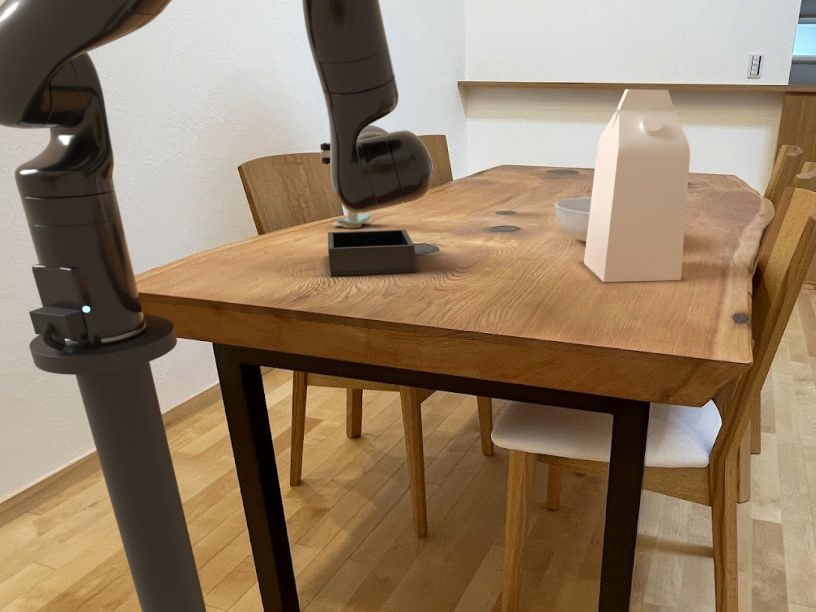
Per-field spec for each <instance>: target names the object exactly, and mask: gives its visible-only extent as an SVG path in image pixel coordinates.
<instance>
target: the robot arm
mask: <svg viewBox="0 0 816 612" xmlns="http://www.w3.org/2000/svg"><path fill="white" fill-rule="evenodd" d="M172 1H173V0H4V2H2V3H1V4H0V126H2V127H7V128H12V129H20V130H21V129H22V130H28V129H29V130H34V129H35V130H36V129H49V136H50V137H49V141H48V144H47V145H46V147H45V148H44V149H43V150H42V151H41V152H40V153H39V154H38V155H36V156H35V157H33V158H31V159H28V161H26V162H24V163H21V164H20V165H18V166H17V167H16V168H15V170H14V181H15V185H16V187H17V191H18V194H19V198H20V201H21V205H22V208H23V211H24V215H25V220H26V222H27V226H28V230H29V234H30V236H31V240H32V244H33V248H34V251H35V254H36V258H37V261H38V263H36V264H33V265H32V266H31V271H32V274H33V278H34V281H35V285H36V289H37V292H38V295H39V300H40V303H41V305H42V307H39V308H36V309H33V310H30V311H28V313H29V314H28V315H29V317H30V320H31V324H32V326H33V331H34V334H35V335H42V338H43V341H44V342H45V344H47V345H48V346H49V347H51V348H54V349H57V350H59V351H62V350H63V349H64V348H65V346H72V347H79V348H87V349H97V348H99V347H102V346H106V345H112V344H117V343H121V342H125V341H128V340H131V339H134V338H136V337H138V336H140V335H142V334H143V333H145V332H146V330H147V325H146V321H145V320H144V316H143V315H144V313H143V312H142V310H143V308H142V303H141V298H140V294H139V290H138V286H137V282H136V276H135V273H134V268H133V264H132V260H131V255H130V254H131V253H130V250H129V246H128V242H127V237H126V232H125V229H124V224H123V220H122V219H123V218H122V215H121V210H120V206H119V202H118V197H117V193H116V192H117V191H116V189H115V183H114V179H113V178H114V177H113V176H114V168H115V157H114V150H113V145H112V144H113V143H112V139H111V134H110V133H111V132H110V128H109V127H110V126H109V121H108V114H107V107H106V101H105V96H104V92H103V91H104V90H103V86H102V83H101V79H100V75H99V72H98V71H97V68H96V65H95V63H94V62H93V59H92V58H91V56H90V54H89V52H92V51H93V50H96V49H98V48H100V47H103V46H106V45H108V44H110V43H112V42H115V41H117V40H119V39H122V38H124V37H126V36H128V35H131V34H133V33H134V32H137V31H138V30H140V29H142V28H144V27H145V26H147V25H148V24H150V23H151V22H153V21H154V20H155V19H156V18H158V17H159V16H160V15H161V14H162V13H163V12H164V11H165V10H166V9H167V7H168V6H169V5H170V3H171V2H172ZM301 3H302V12H303V19H304V26H305V27H304V28H305V31H306V36H307V41H308V46H309V49H310V53H311V55H312V60H313V64H314V66H315V70H316V73H317V76H318V77H317V78H318V80H319V83H320V87H321V91H322V94H323V97H324V103H325V106H326V111H327V117H328V124H329V125H328V126H329V138H330V139H329V142H323V143H320V144H319V146H320V156H321V164H324V165H329V170H330V183H331V187H332V190H333V193H334V196H335V197H336V199H337V200H338V202H339V203H340V204H341V205H342V206H343V207H344V209H345V208H347V209H348V210H350V211H352V212H355V213H357V214H365V213H368V212H372V211H376V210H380V209H384V208H389V207H392V206H397V205H400V204H401V205H402V204H405V203H409V202H414V201H417V200H419V199H421V198H423V197H424V196H425V195H426V194H427V193H428V192H429V190H430V189H431V187H432V184H433V181H434V163H433V160H432V157H431V154H430V152H429V149H428V148H427V146H426V144H425V143H424V142H423V140H422V139H421V138H420V137H419V136H418V135H417V134H415V133H414V132H412V131H410V130H405V129H402V130H396V131H391V132H388V131H387V130H386V129H383V128H382V127H380V126H376V125H371V124H373V123H375V122H377V121H379V120H381V119H383V118H384V117H386V116H388V115H390V114H391V113H392V112H393V111H395V109H396V108H397V106H398V104H399V101H400V100H399V88H398V83H397V78H396V74H395V70H394V65H393V62H392V56H391V52H390V51H391V50H390V47H389V42H388V38H387V34H386V29H385V25H384V20H383V19H384V18H383V15H382V14H383V13H382V10H381V5H380V0H301Z"/></svg>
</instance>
